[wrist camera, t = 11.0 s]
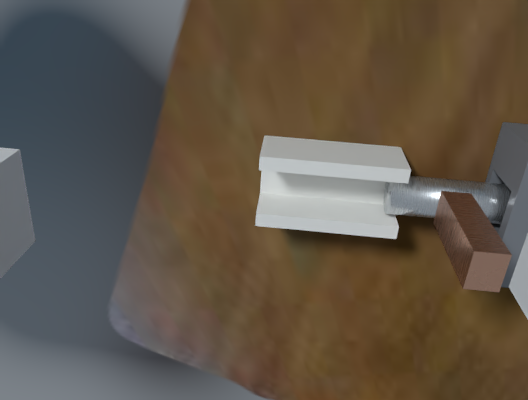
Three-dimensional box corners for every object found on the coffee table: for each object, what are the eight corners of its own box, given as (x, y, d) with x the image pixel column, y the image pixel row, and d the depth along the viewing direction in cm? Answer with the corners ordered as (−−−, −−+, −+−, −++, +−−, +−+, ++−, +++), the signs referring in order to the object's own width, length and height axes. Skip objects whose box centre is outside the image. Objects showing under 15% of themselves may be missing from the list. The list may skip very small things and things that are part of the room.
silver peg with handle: (388, 167, 43) (415, 243, 32) (576, 184, 43) (669, 267, 32) (381, 202, 45) (405, 285, 34) (563, 219, 44) (647, 309, 33)
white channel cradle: (264, 135, 44) (259, 156, 40) (400, 147, 44) (411, 169, 39) (260, 199, 47) (255, 225, 43) (388, 211, 47) (396, 239, 42)
